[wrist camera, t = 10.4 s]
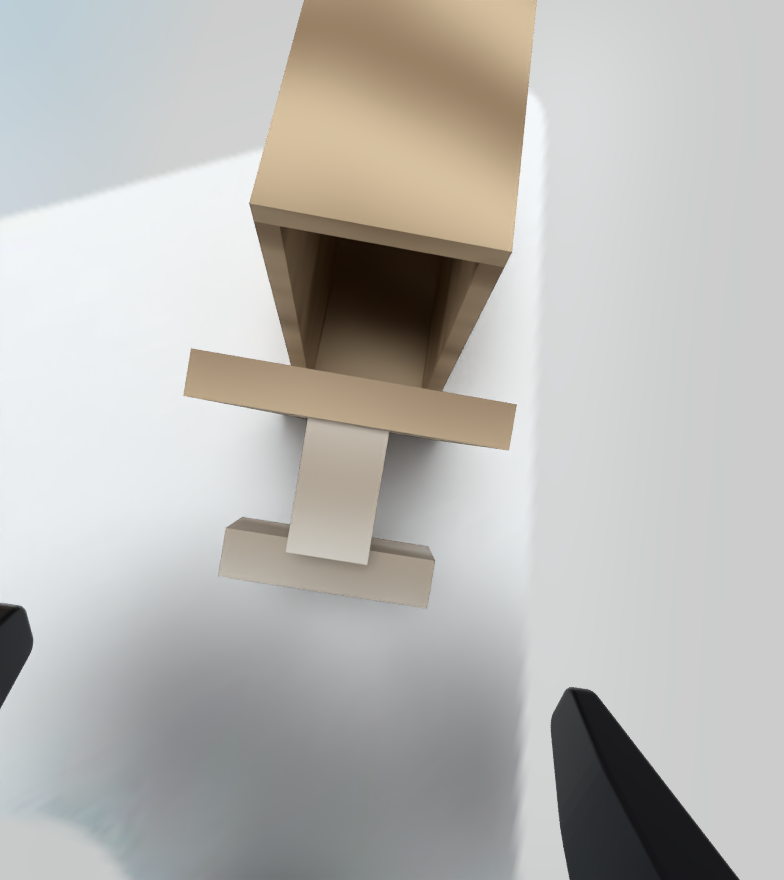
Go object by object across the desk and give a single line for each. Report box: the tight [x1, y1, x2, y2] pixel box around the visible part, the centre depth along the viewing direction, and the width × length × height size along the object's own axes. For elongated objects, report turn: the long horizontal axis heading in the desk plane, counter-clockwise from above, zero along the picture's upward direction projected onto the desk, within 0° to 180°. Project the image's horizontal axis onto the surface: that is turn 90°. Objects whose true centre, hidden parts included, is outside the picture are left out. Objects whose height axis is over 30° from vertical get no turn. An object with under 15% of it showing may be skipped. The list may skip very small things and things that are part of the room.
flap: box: [183, 349, 517, 608], centre depth 17 cm, size 5×7×11 cm
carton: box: [249, 0, 537, 392], centre depth 19 cm, size 9×6×12 cm, turn 171°
